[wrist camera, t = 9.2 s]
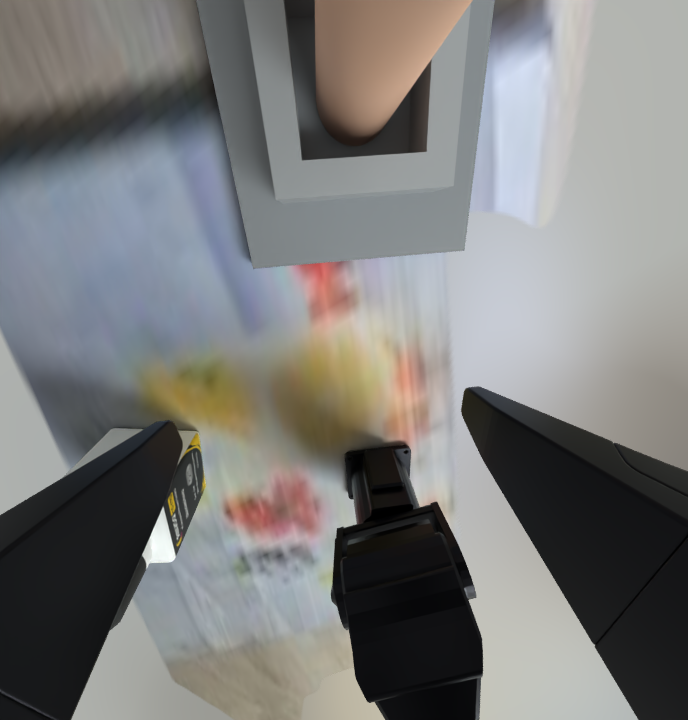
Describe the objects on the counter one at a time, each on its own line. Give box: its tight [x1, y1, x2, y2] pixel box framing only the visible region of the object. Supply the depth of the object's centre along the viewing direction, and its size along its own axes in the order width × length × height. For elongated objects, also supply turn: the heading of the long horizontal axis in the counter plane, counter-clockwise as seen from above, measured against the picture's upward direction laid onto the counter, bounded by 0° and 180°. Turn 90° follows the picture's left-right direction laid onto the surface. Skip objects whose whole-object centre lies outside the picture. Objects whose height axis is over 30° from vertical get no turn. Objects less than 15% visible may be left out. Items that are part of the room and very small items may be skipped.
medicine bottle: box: [64, 428, 206, 630], centre depth 20 cm, size 7×7×12 cm
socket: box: [196, 0, 495, 269], centre depth 13 cm, size 16×14×4 cm
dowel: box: [315, 0, 473, 146], centre depth 9 cm, size 4×4×12 cm
